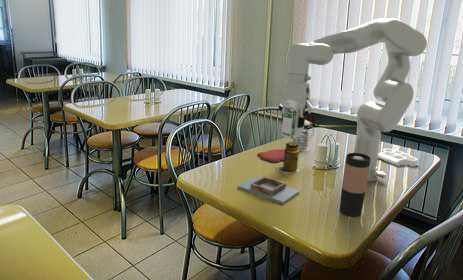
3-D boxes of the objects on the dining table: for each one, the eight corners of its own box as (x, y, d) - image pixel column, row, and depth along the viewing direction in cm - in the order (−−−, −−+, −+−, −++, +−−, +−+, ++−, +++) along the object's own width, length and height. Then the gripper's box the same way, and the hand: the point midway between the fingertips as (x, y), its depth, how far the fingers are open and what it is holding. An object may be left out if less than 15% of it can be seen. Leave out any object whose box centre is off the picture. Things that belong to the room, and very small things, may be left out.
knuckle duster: (370, 157, 181) (391, 153, 187) (401, 169, 166) (423, 165, 172) (371, 150, 180) (392, 147, 186) (403, 162, 165) (424, 158, 171)
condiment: (301, 171, 159) (303, 144, 155) (286, 174, 154) (288, 147, 151) (289, 165, 164) (292, 140, 161) (275, 168, 160) (277, 142, 156)
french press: (287, 145, 193) (291, 98, 185) (309, 145, 194) (314, 98, 186) (292, 151, 183) (297, 102, 176) (315, 151, 185) (320, 102, 177)
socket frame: (285, 187, 139) (286, 183, 138) (272, 196, 132) (272, 191, 131) (264, 180, 144) (264, 176, 144) (250, 188, 137) (250, 183, 136)
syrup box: (280, 135, 141) (283, 98, 136) (290, 133, 144) (294, 97, 140) (292, 139, 137) (296, 101, 132) (302, 136, 140) (306, 99, 136)
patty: (271, 165, 165) (272, 161, 164) (252, 156, 176) (252, 152, 175) (299, 158, 175) (299, 154, 174) (279, 150, 186) (279, 146, 185)
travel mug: (336, 205, 128) (343, 152, 122) (358, 206, 128) (366, 153, 122) (341, 216, 121) (349, 160, 115) (365, 217, 121) (374, 161, 115)
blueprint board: (299, 193, 137) (299, 190, 137) (282, 204, 128) (283, 201, 128) (255, 178, 149) (255, 176, 148) (237, 188, 140) (237, 185, 139)
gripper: (323, 80, 132) (317, 128, 137) (282, 74, 142) (278, 119, 147) (313, 81, 126) (308, 132, 131) (271, 76, 136) (268, 122, 141)
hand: (292, 125), depth 139 cm, fingers closed on syrup box, 6 cm apart
